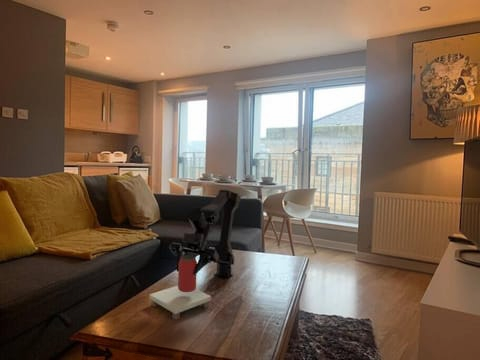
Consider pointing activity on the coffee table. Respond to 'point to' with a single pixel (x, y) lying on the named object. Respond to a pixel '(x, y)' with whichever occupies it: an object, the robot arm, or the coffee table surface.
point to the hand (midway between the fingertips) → (185, 272)
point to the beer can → (187, 273)
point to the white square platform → (179, 300)
